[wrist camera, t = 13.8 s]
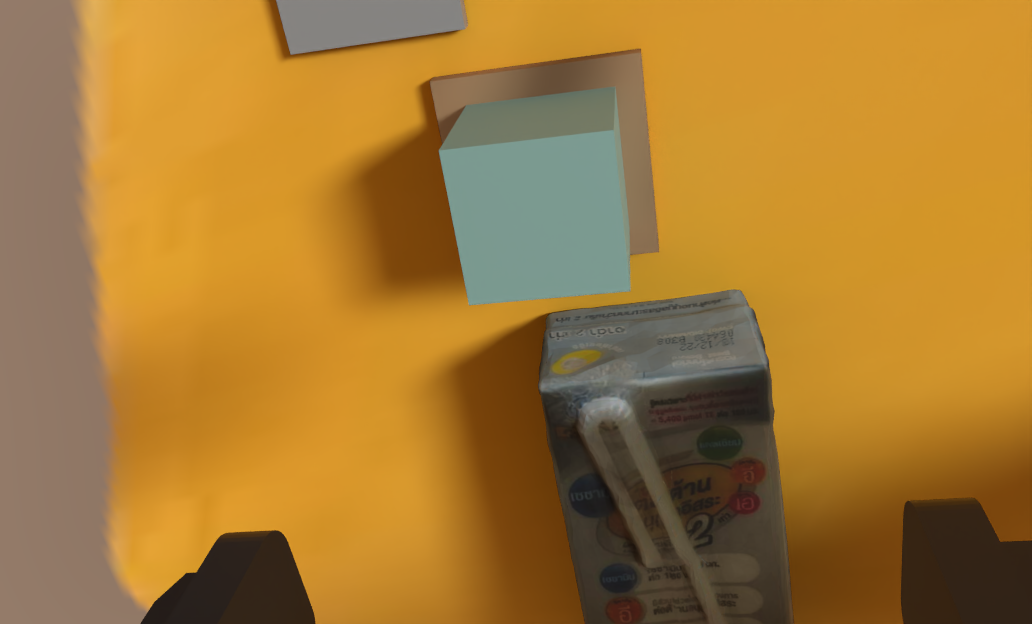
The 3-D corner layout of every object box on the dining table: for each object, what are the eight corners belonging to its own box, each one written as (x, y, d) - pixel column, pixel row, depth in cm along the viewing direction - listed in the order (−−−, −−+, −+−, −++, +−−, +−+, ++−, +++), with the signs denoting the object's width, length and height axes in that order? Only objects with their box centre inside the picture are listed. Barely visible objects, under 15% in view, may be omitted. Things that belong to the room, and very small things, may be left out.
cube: (615, 86, 29) (614, 130, 24) (629, 227, 31) (630, 291, 26) (466, 105, 29) (438, 150, 25) (490, 241, 32) (469, 305, 27)
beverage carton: (755, 277, 32) (784, 373, 26) (783, 647, 41) (810, 780, 35) (542, 304, 34) (526, 399, 28) (612, 655, 42) (611, 784, 36)
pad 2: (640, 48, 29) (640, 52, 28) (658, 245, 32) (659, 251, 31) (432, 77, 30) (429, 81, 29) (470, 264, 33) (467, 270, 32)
